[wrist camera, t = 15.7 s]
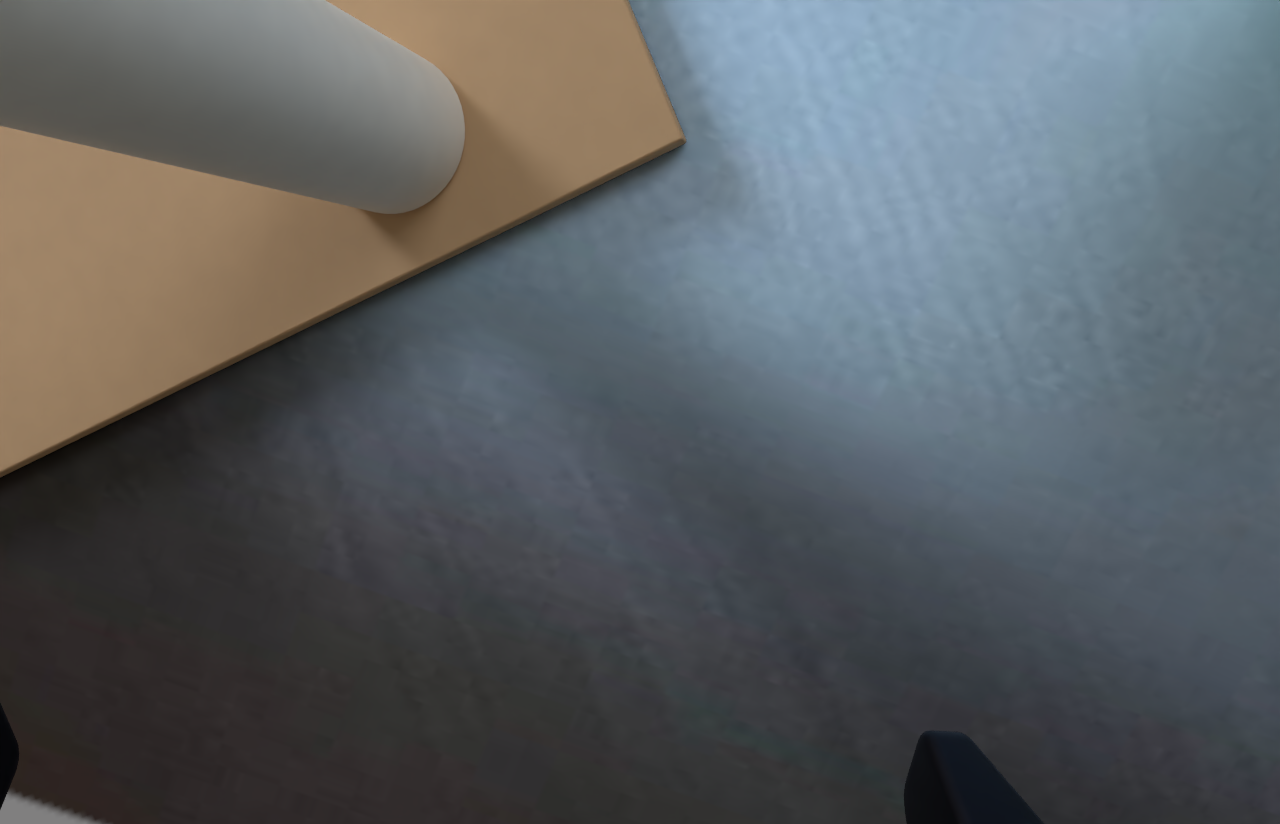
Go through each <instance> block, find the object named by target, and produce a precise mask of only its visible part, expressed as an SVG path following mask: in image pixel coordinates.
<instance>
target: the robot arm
mask: <svg viewBox="0 0 1280 824" xmlns="http://www.w3.org/2000/svg"><path fill="white" fill-rule="evenodd" d="M18 761H19V748H18V743H17V740H16V738H15V736H14V733H13V731H12V729H11V726H10V724H9V722H8V719H7V717H6V715H5V712H4V710H3V708H2V706H1V703H0V809H1V807H2V804H3V802H4V799H5V797H6V794H7V792H8V790H9V787H10V785H11V782H12V780H13V777H14V775H15V772H16V769H17V765H18ZM904 806H905V814H906V822H907V824H1044V823H1043V822H1042V821H1041V820H1040V818H1039V817H1038V816H1037V815H1036V814H1035V813H1034V811H1033V810H1032V809H1031V808H1030V807H1029V806H1028V804H1027V803H1026V802H1025V801H1024V800H1023V799H1022V798H1021V796H1020V795H1019V794H1018V793H1017V792H1016V791H1015V789H1014V788H1013V787H1012V786H1011V785H1010V784H1009V783H1008V781H1007V780H1006V779H1005V778H1004V777H1003V776H1002V774H1001V773H1000V772H999V771H998V770H997V769H996V767H995V766H994V765H993V764H992V763H991V762H990V761H989V759H988V758H987V757H986V756H985V755H984V754H983V752H982V751H981V750H980V749H979V748H978V747H977V745H976V744H975V743H974V742H973V741H972V740H971V739H970V738H969V737H968V736H966V735H965V734H963V733H960V732H949V731H926V732H924V733H923V734H922V735H921V736H920V738H919V740H918V743H917V746H916V750H915V753H914V756H913V760H912V763H911V766H910V769H909V773H908V776H907V779H906V783H905V789H904Z"/></svg>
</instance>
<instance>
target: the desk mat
mask: <svg viewBox="0 0 1280 824" xmlns="http://www.w3.org/2000/svg"><path fill="white" fill-rule="evenodd" d="M326 1H327V2H329V3H331V4H332V5H334V6H336V7H337V8H339V9H341V10H343V11H344V12H346V13H348V14H349V15H351V16H353V17H354V18H356V19H358V20H360V21H361V22H363V23H365V24H366V25H368V26H370V27H371V28H373V29H375V30H377V31H378V32H380V33H382V34H383V35H385V36H387V37H388V38H390V39H392V40H394V41H395V42H397V43H399V44H400V45H402V46H404V47H405V48H407V49H409V50H410V51H412V52H414V53H416V54H417V55H419V56H421V57H422V58H424V59H426V60H427V61H429V62H430V63H432V64H433V65H435V66H436V67H437V68H438V69H439V70H441V72H442V73H443V74H444V75H445V76H446V77H447V78H448V80H449V81H450V83H451V84H452V86H453V87H454V89H455V91H456V93H457V95H458V98H459V100H460V103H461V106H462V111H463V115H464V123H465V140H464V147H463V152H462V156H461V159H460V162H459V165H458V167H457V169H456V171H455V173H454V175H453V177H452V179H451V180H450V181H449V183H448V184H447V185H446V187H445V188H444V189H443V190H442V191H441V192H440V193H439V194H438V195H437V196H436V197H435V198H433V199H432V200H431V201H430V202H428V203H426V204H425V205H423V206H421V207H419V208H417V209H415V210H412V211H408V212H405V213H398V214H382V213H376V212H372V211H367V210H363V209H359V208H354V207H350V206H346V205H341V204H337V203H333V202H328V201H324V200H320V199H315V198H311V197H307V196H302V195H298V194H294V193H289V192H285V191H281V190H276V189H272V188H268V187H263V186H259V185H255V184H250V183H246V182H242V181H237V180H233V179H229V178H224V177H220V176H215V175H211V174H207V173H202V172H198V171H194V170H189V169H185V168H181V167H176V166H172V165H168V164H163V163H159V162H155V161H150V160H146V159H142V158H137V157H133V156H129V155H124V154H120V153H116V152H111V151H107V150H103V149H98V148H94V147H90V146H85V145H81V144H77V143H72V142H68V141H64V140H59V139H55V138H51V137H46V136H42V135H38V134H33V133H29V132H25V131H20V130H16V129H12V128H7V127H3V126H0V477H2V476H5V475H7V474H9V473H11V472H13V471H15V470H17V469H19V468H21V467H23V466H25V465H27V464H29V463H31V462H33V461H35V460H37V459H39V458H41V457H43V456H46V455H48V454H50V453H52V452H54V451H56V450H58V449H60V448H62V447H64V446H66V445H68V444H70V443H72V442H74V441H76V440H78V439H80V438H82V437H84V436H87V435H89V434H91V433H93V432H95V431H97V430H99V429H101V428H103V427H105V426H107V425H109V424H111V423H113V422H115V421H117V420H119V419H121V418H123V417H125V416H128V415H130V414H132V413H134V412H136V411H138V410H140V409H142V408H144V407H146V406H148V405H150V404H152V403H154V402H156V401H158V400H160V399H162V398H164V397H166V396H168V395H171V394H173V393H175V392H177V391H179V390H181V389H183V388H185V387H187V386H189V385H191V384H193V383H195V382H197V381H199V380H201V379H203V378H205V377H207V376H209V375H212V374H214V373H216V372H218V371H220V370H222V369H224V368H226V367H228V366H230V365H232V364H234V363H236V362H238V361H240V360H242V359H244V358H246V357H248V356H250V355H253V354H255V353H257V352H259V351H261V350H263V349H265V348H267V347H269V346H271V345H273V344H275V343H277V342H279V341H281V340H283V339H285V338H287V337H289V336H291V335H294V334H296V333H298V332H300V331H302V330H304V329H306V328H308V327H310V326H312V325H314V324H316V323H318V322H320V321H322V320H324V319H326V318H328V317H330V316H332V315H335V314H337V313H339V312H341V311H343V310H345V309H347V308H349V307H351V306H353V305H355V304H357V303H359V302H361V301H363V300H365V299H367V298H369V297H371V296H373V295H376V294H378V293H380V292H382V291H384V290H386V289H388V288H390V287H392V286H394V285H396V284H398V283H400V282H402V281H404V280H406V279H408V278H410V277H412V276H414V275H417V274H419V273H421V272H423V271H425V270H427V269H429V268H431V267H433V266H435V265H437V264H439V263H441V262H443V261H445V260H447V259H449V258H451V257H453V256H455V255H458V254H460V253H462V252H464V251H466V250H468V249H470V248H472V247H474V246H476V245H478V244H480V243H482V242H484V241H486V240H488V239H490V238H492V237H494V236H496V235H499V234H501V233H503V232H505V231H507V230H509V229H511V228H513V227H515V226H517V225H519V224H521V223H523V222H525V221H527V220H529V219H531V218H533V217H535V216H537V215H540V214H542V213H544V212H546V211H548V210H550V209H552V208H554V207H556V206H558V205H560V204H562V203H564V202H566V201H568V200H570V199H572V198H574V197H576V196H578V195H581V194H583V193H585V192H587V191H589V190H591V189H593V188H595V187H597V186H599V185H601V184H603V183H605V182H607V181H609V180H611V179H613V178H615V177H617V176H619V175H622V174H624V173H626V172H628V171H630V170H632V169H634V168H636V167H638V166H640V165H642V164H644V163H646V162H648V161H650V160H652V159H654V158H656V157H658V156H660V155H662V154H665V153H667V152H669V151H671V150H673V149H675V148H677V147H679V146H681V145H683V144H685V143H686V138H685V136H684V133H683V131H682V129H681V126H680V124H679V121H678V119H677V116H676V114H675V112H674V109H673V107H672V104H671V102H670V100H669V97H668V95H667V92H666V90H665V88H664V85H663V83H662V80H661V78H660V76H659V73H658V71H657V68H656V66H655V63H654V61H653V59H652V56H651V54H650V51H649V49H648V47H647V44H646V42H645V39H644V37H643V35H642V32H641V30H640V27H639V25H638V22H637V20H636V18H635V15H634V13H633V10H632V8H631V6H630V3H629V1H628V0H326Z"/></svg>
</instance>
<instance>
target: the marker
mask: <svg viewBox="0 0 1280 824" xmlns="http://www.w3.org/2000/svg"><path fill="white" fill-rule="evenodd" d="M0 126H3V127H7V128H12V129H16V130H20V131H25V132H29V133H33V134H38V135H42V136H46V137H51V138H55V139H59V140H64V141H68V142H72V143H77V144H81V145H85V146H90V147H94V148H98V149H103V150H107V151H111V152H116V153H120V154H124V155H129V156H133V157H137V158H142V159H146V160H150V161H155V162H159V163H163V164H168V165H172V166H176V167H181V168H185V169H189V170H194V171H198V172H202V173H207V174H211V175H215V176H220V177H224V178H229V179H233V180H237V181H242V182H246V183H250V184H255V185H259V186H263V187H268V188H272V189H276V190H281V191H285V192H289V193H294V194H298V195H302V196H307V197H311V198H315V199H320V200H324V201H328V202H333V203H337V204H341V205H346V206H350V207H354V208H359V209H363V210H367V211H372V212H376V213H382V214H398V213H405V212H408V211H412V210H415V209H417V208H419V207H421V206H423V205H425V204H426V203H428V202H430V201H431V200H432V199H433V198H435V197H436V196H437V195H438V194H439V193H440V192H441V191H442V190H443V189H444V188H445V187H446V185H447V184H448V183H449V181H450V180H451V179H452V177H453V175H454V173H455V171H456V169H457V167H458V165H459V162H460V159H461V156H462V152H463V147H464V140H465V123H464V115H463V111H462V106H461V103H460V100H459V98H458V95H457V93H456V91H455V89H454V87H453V86H452V84H451V83H450V81H449V80H448V78H447V77H446V76H445V75H444V74H443V73H442V72H441V70H439V69H438V68H437V67H436V66H435V65H433V64H432V63H430V62H429V61H427V60H426V59H424V58H422V57H421V56H419V55H417V54H416V53H414V52H412V51H410V50H409V49H407V48H405V47H404V46H402V45H400V44H399V43H397V42H395V41H394V40H392V39H390V38H388V37H387V36H385V35H383V34H382V33H380V32H378V31H377V30H375V29H373V28H371V27H370V26H368V25H366V24H365V23H363V22H361V21H360V20H358V19H356V18H354V17H353V16H351V15H349V14H348V13H346V12H344V11H343V10H341V9H339V8H337V7H336V6H334V5H332V4H331V3H329V2H327V1H326V0H0Z"/></svg>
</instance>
